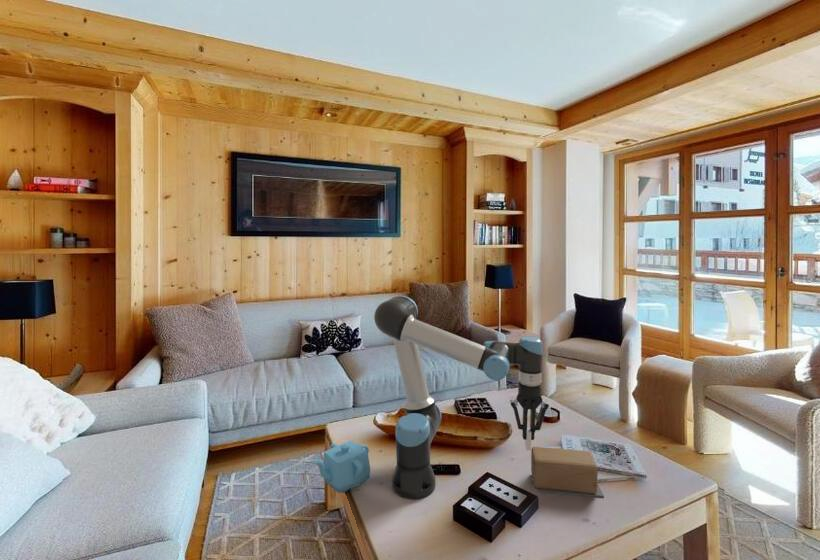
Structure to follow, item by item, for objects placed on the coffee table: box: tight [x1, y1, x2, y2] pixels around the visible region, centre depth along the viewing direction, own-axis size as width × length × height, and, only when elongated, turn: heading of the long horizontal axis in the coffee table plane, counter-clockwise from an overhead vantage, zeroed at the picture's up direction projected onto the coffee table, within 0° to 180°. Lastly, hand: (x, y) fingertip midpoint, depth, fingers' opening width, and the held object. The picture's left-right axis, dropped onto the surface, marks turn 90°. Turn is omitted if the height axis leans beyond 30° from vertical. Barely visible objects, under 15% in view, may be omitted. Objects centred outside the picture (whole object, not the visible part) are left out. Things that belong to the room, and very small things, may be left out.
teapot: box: [311, 440, 371, 494], centre depth 136 cm, size 18×16×14 cm
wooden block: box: [530, 446, 599, 494], centre depth 133 cm, size 10×10×20 cm
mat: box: [538, 483, 605, 498], centre depth 135 cm, size 20×15×1 cm
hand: (528, 447), depth 135 cm, fingers closed
